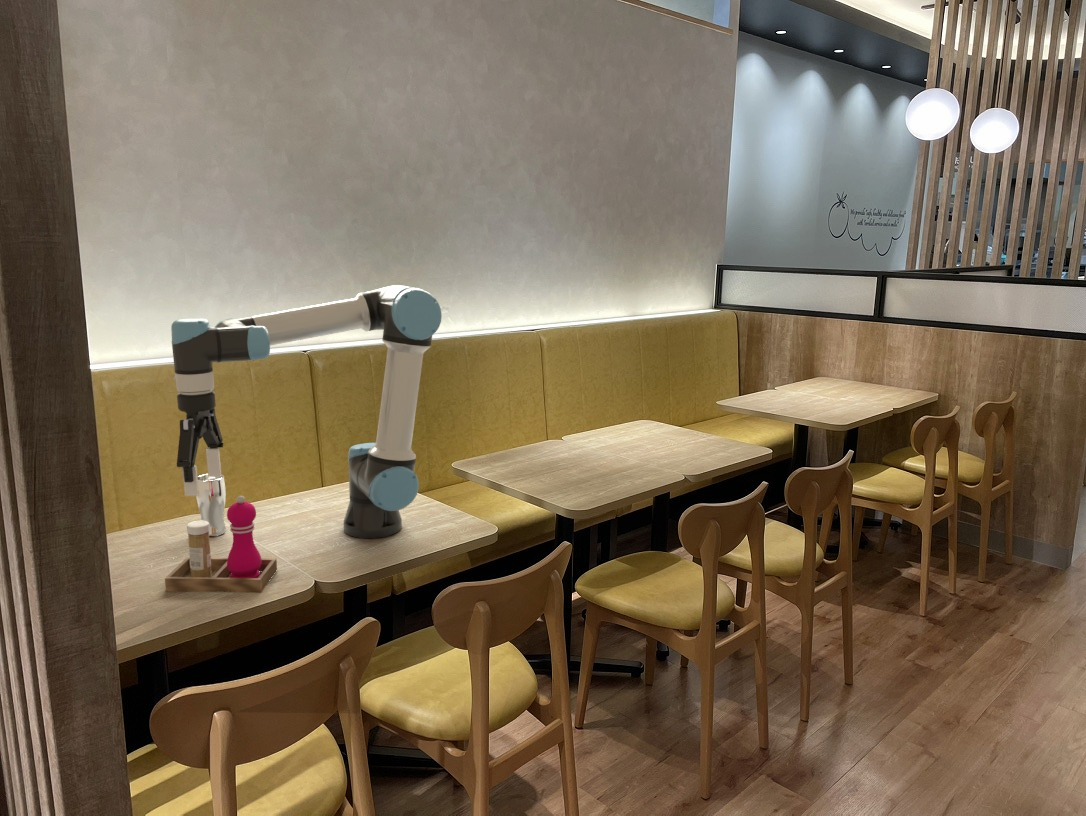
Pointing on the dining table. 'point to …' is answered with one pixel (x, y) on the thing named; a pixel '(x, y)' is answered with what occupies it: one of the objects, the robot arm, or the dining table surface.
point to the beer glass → (212, 502)
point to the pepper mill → (243, 541)
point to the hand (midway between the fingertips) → (203, 485)
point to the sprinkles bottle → (199, 548)
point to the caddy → (219, 578)
